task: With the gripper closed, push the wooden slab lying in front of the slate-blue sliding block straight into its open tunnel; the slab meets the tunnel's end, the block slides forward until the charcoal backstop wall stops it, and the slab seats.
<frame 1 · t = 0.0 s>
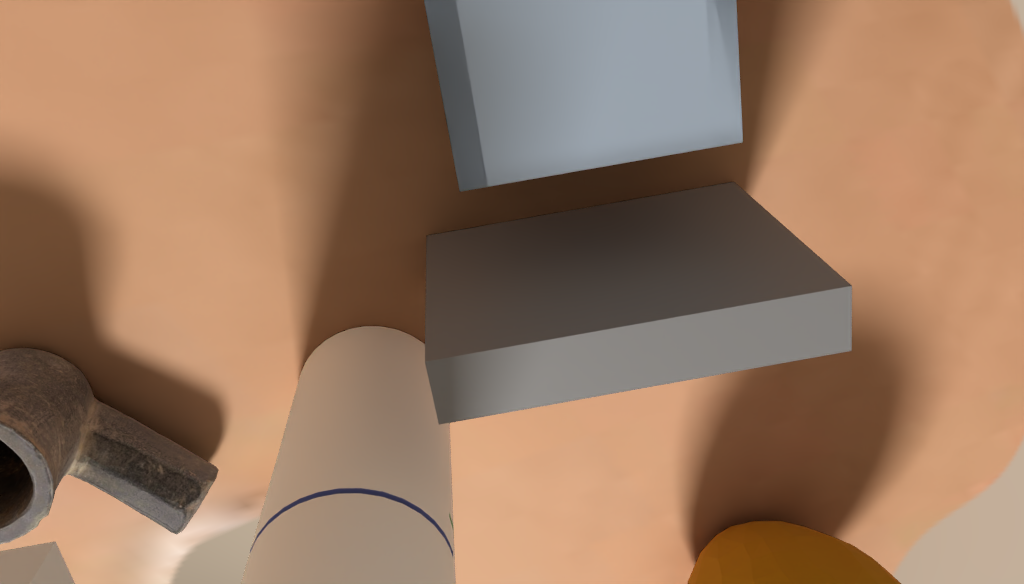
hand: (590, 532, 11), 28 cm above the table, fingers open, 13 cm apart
cylindrical container: (374, 390, 42), on the table
wall: (583, 233, 40), on the table
pipe: (94, 402, 41), on the table
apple: (752, 550, 48), on the table
block: (573, 49, 32), point 4 cm above the table, slide at 0.0 cm
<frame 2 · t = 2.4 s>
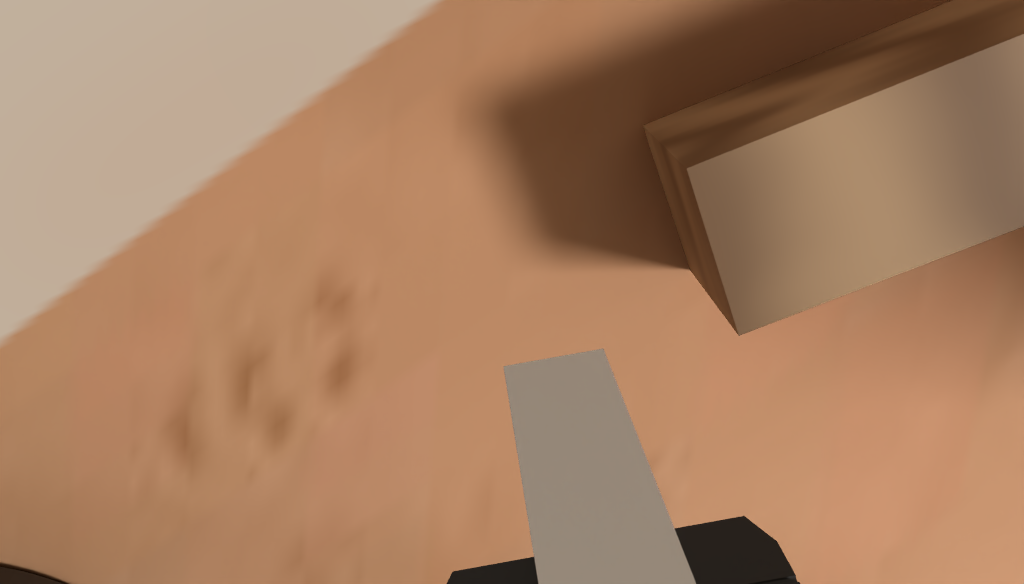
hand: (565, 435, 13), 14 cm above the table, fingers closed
wooden slab: (881, 112, 27), on the table
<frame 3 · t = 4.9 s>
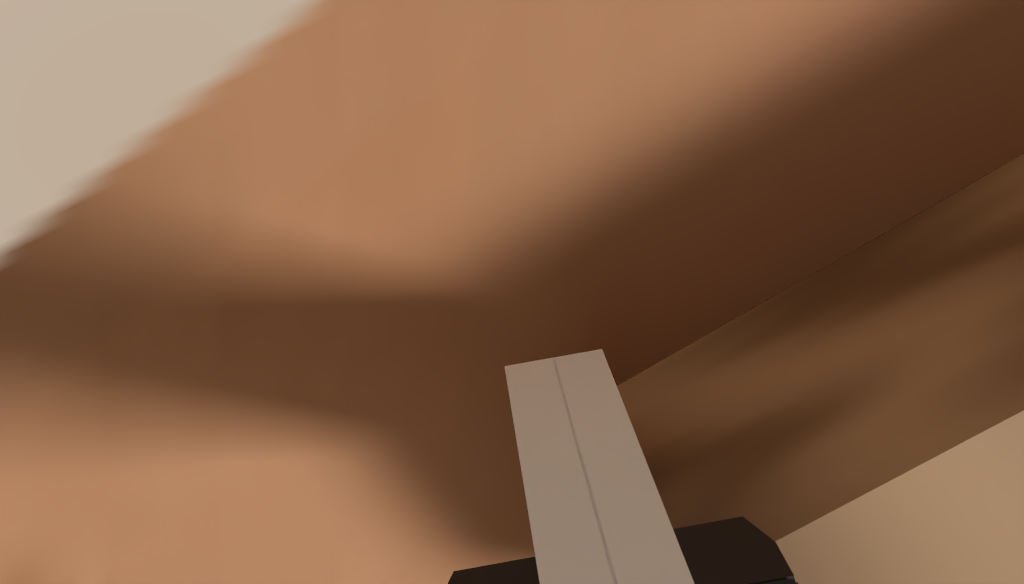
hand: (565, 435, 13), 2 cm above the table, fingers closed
wooden slab: (1005, 301, 15), on the table, touching gripper
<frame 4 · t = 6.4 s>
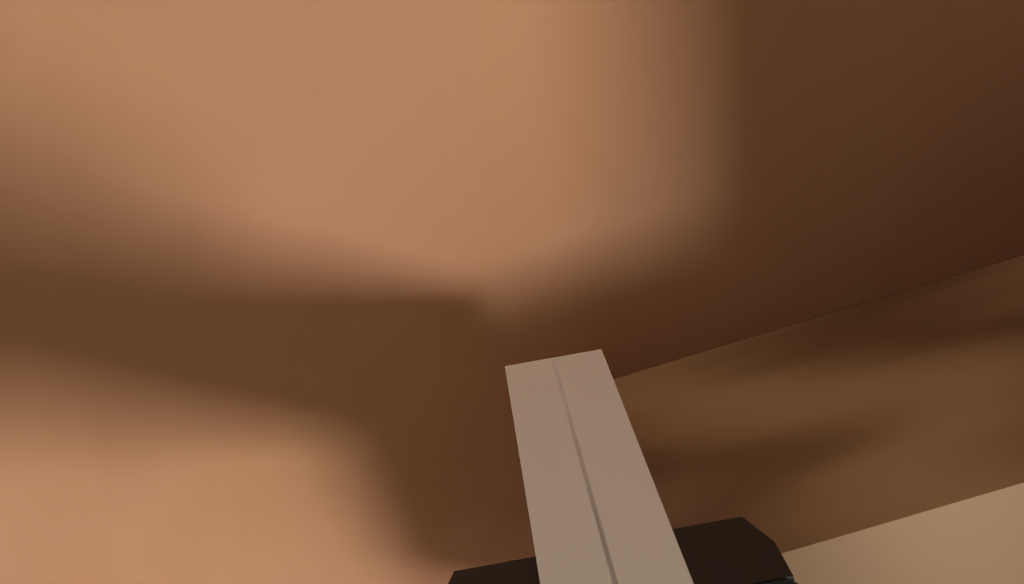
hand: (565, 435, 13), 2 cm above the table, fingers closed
wooden slab: (996, 386, 16), on the table, touching gripper
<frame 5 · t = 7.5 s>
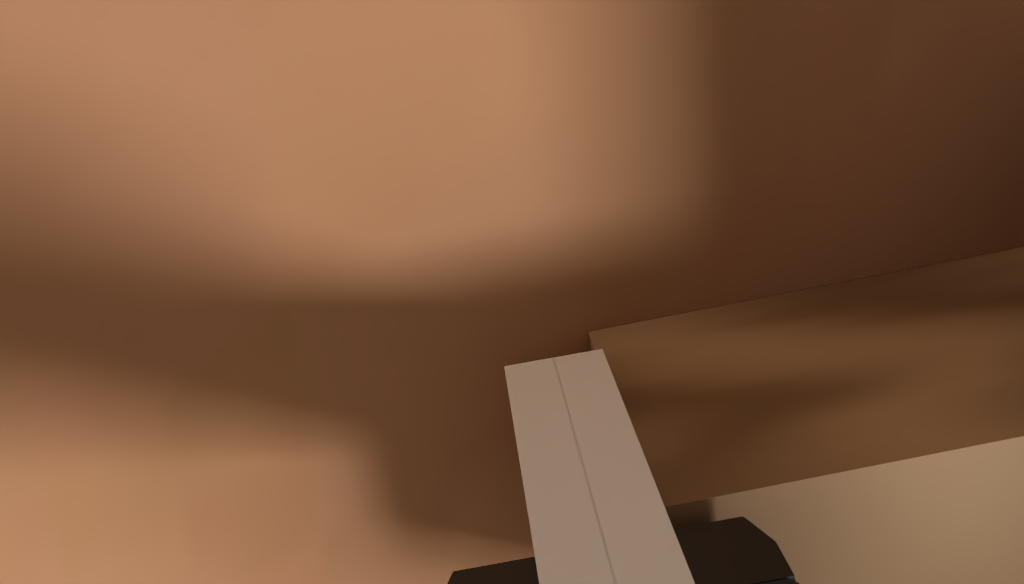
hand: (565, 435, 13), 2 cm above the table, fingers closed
wooden slab: (982, 372, 16), on the table, touching block
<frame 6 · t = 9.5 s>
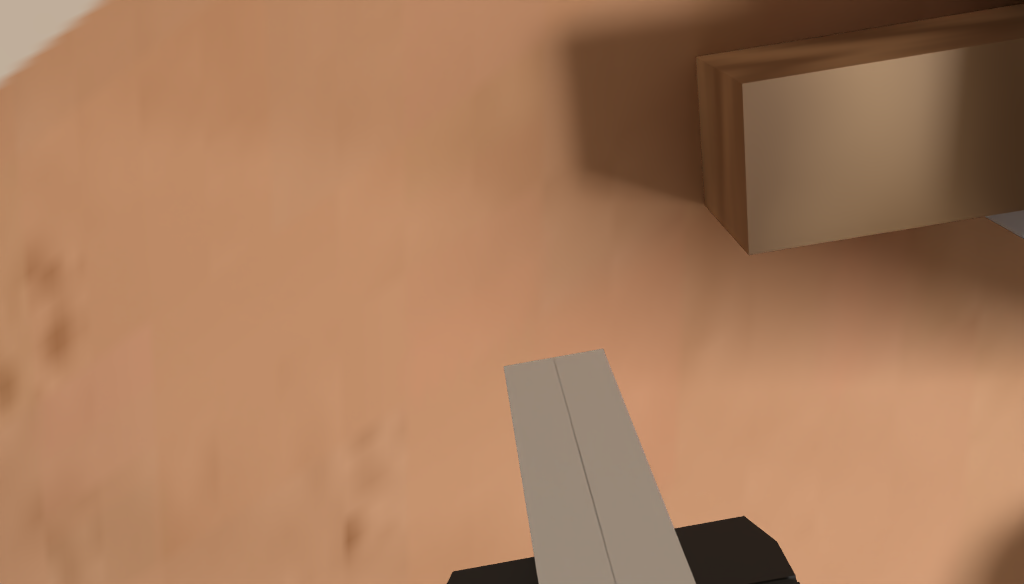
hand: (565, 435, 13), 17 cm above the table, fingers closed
wooden slab: (905, 98, 29), on the table
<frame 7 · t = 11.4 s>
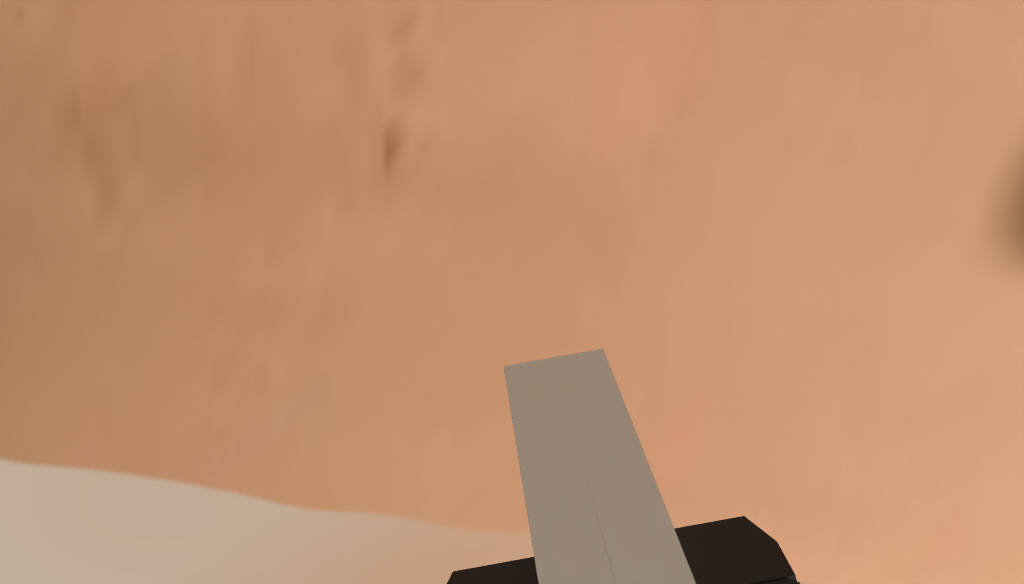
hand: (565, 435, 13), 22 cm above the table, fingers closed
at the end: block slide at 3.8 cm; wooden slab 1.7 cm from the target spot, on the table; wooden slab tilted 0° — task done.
